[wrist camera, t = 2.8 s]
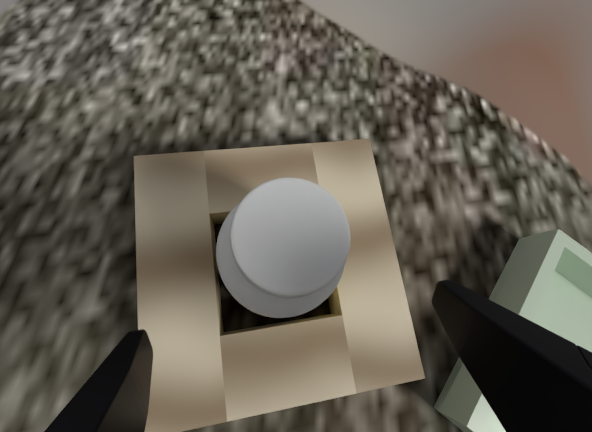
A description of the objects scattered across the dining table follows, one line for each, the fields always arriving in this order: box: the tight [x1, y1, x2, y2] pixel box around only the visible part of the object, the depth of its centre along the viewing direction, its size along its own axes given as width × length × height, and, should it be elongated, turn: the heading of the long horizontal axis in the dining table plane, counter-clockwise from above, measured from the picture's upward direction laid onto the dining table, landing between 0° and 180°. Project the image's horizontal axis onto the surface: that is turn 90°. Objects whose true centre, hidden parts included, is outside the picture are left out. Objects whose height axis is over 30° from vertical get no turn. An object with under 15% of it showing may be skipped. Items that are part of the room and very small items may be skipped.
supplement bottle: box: [216, 177, 351, 318], centre depth 15 cm, size 5×5×10 cm
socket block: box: [134, 139, 425, 432], centre depth 18 cm, size 14×14×2 cm
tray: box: [433, 229, 592, 432], centre depth 19 cm, size 13×13×3 cm
